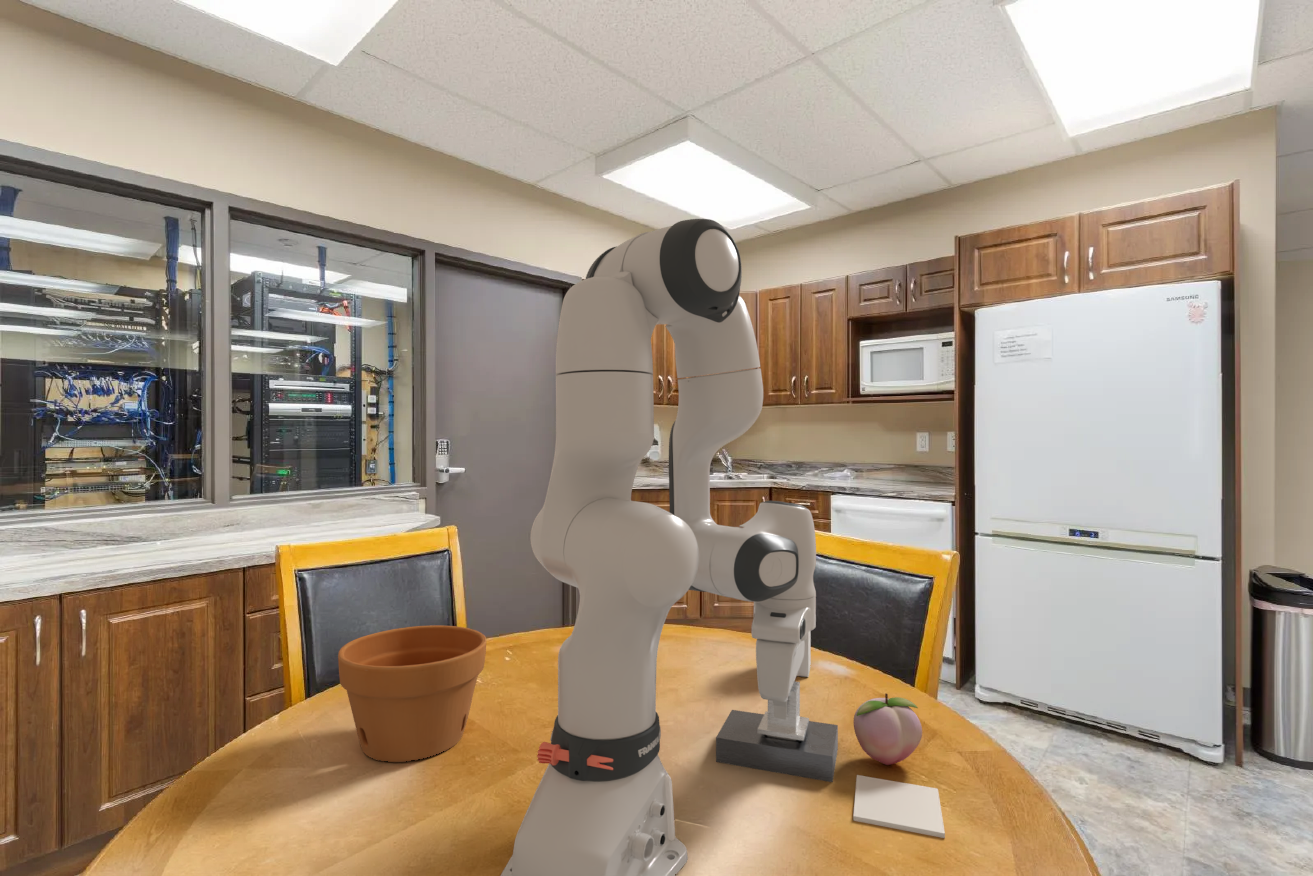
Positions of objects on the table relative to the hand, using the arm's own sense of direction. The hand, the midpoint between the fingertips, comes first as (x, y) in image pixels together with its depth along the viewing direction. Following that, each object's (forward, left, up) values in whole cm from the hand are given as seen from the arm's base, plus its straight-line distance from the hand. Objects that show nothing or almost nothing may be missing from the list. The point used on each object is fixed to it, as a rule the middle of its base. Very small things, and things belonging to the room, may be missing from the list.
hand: (783, 709), depth 91 cm
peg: (0, 0, -6) cm, 6 cm away
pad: (-8, -15, -7) cm, 18 cm away
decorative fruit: (+3, -14, -7) cm, 16 cm away
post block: (0, +1, -7) cm, 7 cm away
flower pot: (-14, +54, -7) cm, 56 cm away
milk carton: (+36, +4, -7) cm, 37 cm away
